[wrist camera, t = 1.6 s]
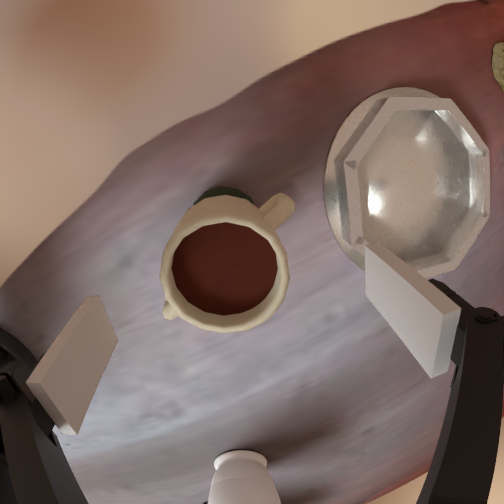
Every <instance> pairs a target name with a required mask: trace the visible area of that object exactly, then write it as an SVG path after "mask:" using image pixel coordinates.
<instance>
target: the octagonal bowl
mask: <svg viewBox="0 0 504 504" xmlns="http://www.w3.org/2000/svg"><path fill="white" fill-rule="evenodd" d="M323 188H324V202H325V208H326V213H327V217H328V221H329V224H330V227H331V229H332V232H333V234H334V236H335V238H336V240H337V242H338V243H339V245H340V247H341V248H342V250H343V251H344V252H345V253H346V255H347V256H348V257H349V258H350V259H351V260H352V261H353V262H354V263H355V264H356V265H357V266H359V267H360V268H361V269H363V270H364V271H365V249H364V245H367V244H372V243H377V242H379V243H380V244H382V245H383V246H384V247H386V248H387V249H388V250H390V251H391V252H392V253H393V254H395V255H396V256H397V257H399V258H400V259H401V260H403V261H404V262H405V263H406V264H408V265H409V266H410V267H412V268H413V269H414V270H415V271H417V272H418V273H419V274H420V275H422V276H423V277H424V278H425V279H426V278H429V277H432V276H436V275H439V274H442V273H446V272H449V271H452V270H455V269H456V268H457V267H458V265H459V264H460V262H461V261H462V259H463V258H464V256H465V255H466V253H467V252H468V250H469V249H470V247H471V246H472V244H473V242H474V241H475V239H476V238H477V236H478V235H479V233H480V231H481V230H482V228H483V226H484V225H485V223H486V221H487V220H488V218H489V216H490V160H489V149H488V148H487V146H486V145H485V143H484V142H483V140H482V139H481V137H480V136H479V135H478V133H477V132H476V130H475V129H474V128H473V126H472V125H471V124H470V122H469V121H468V120H467V118H466V117H465V116H464V115H463V113H462V112H461V111H460V109H459V108H458V107H457V106H456V104H455V103H454V102H453V101H452V100H451V99H448V98H440V97H439V96H437V95H435V94H433V93H431V92H428V91H425V90H422V89H418V88H411V87H399V88H392V89H388V90H384V91H381V92H379V93H376V94H374V95H372V96H370V97H369V98H367V99H365V100H364V101H362V102H361V103H360V104H359V105H358V106H357V107H355V108H354V109H353V110H352V111H351V112H350V114H349V115H348V116H347V117H346V118H345V120H344V121H343V123H342V124H341V126H340V127H339V129H338V131H337V133H336V135H335V137H334V139H333V141H332V144H331V146H330V150H329V153H328V156H327V160H326V166H325V171H324V186H323Z"/></svg>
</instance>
